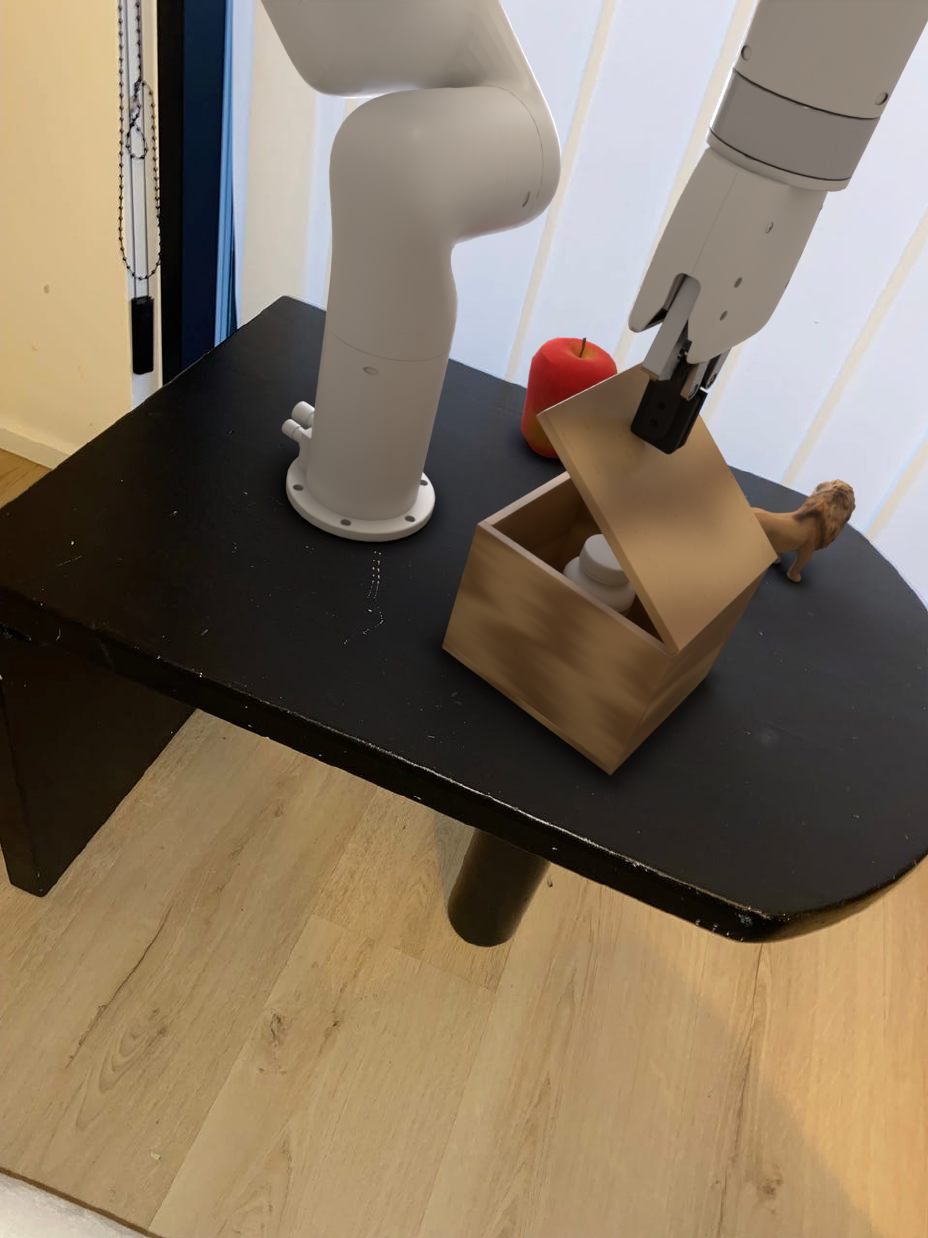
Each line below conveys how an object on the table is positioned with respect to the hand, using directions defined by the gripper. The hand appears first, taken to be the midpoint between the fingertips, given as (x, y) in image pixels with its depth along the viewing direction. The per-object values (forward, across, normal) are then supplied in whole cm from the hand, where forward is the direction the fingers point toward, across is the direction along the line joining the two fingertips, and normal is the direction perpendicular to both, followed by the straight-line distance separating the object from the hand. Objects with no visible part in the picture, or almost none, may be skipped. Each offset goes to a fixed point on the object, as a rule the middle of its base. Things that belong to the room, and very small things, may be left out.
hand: (656, 439), depth 59 cm
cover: (+3, 0, +2) cm, 4 cm away
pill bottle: (+19, 0, 0) cm, 19 cm away
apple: (+20, -23, -18) cm, 35 cm away
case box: (+20, 0, +1) cm, 20 cm away
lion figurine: (+20, -24, +5) cm, 31 cm away
